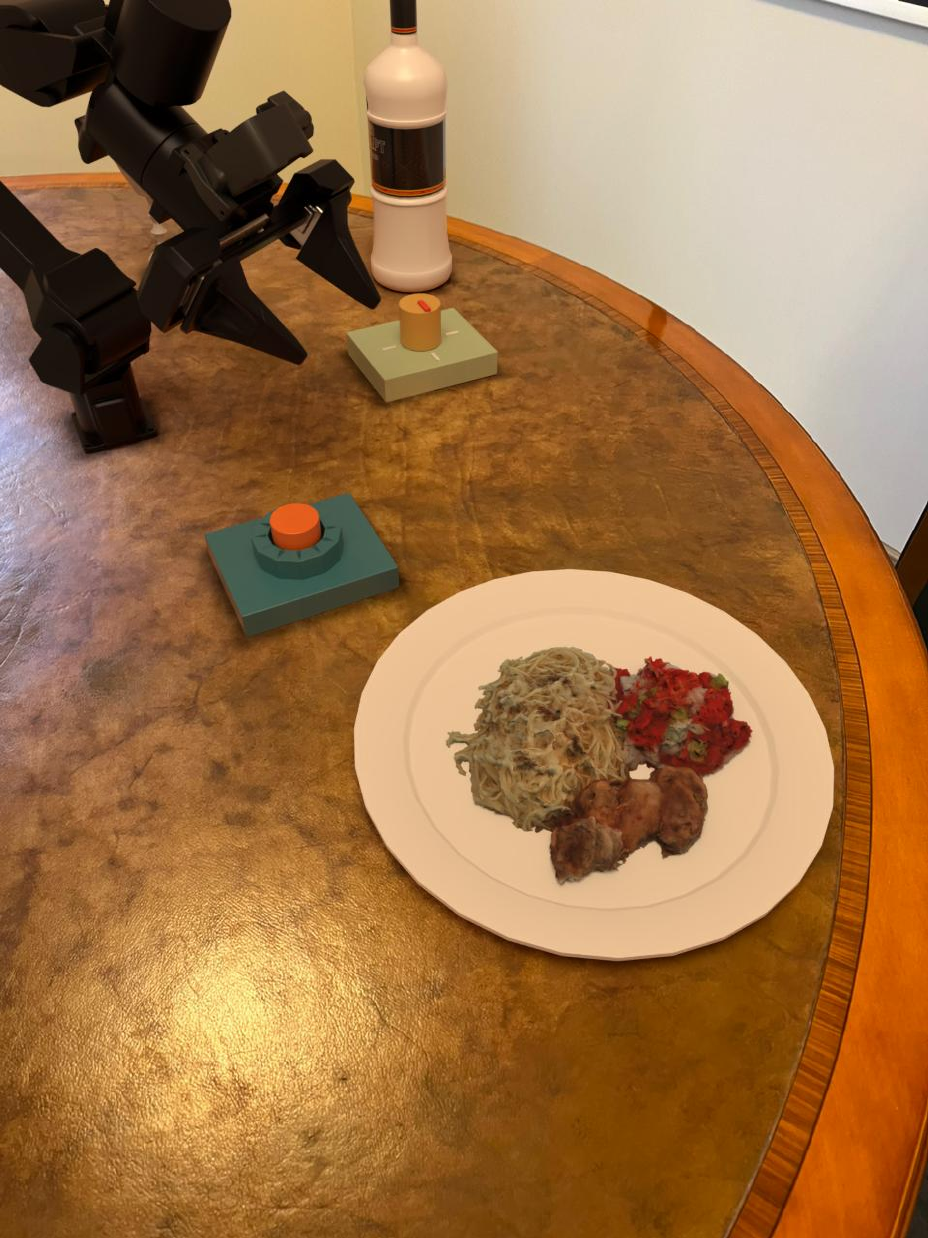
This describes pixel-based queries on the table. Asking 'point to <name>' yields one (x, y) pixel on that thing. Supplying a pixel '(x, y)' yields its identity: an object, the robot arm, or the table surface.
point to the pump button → (295, 526)
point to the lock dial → (420, 322)
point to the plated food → (593, 764)
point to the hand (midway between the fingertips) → (342, 331)
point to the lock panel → (421, 358)
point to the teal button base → (301, 567)
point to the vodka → (408, 159)
